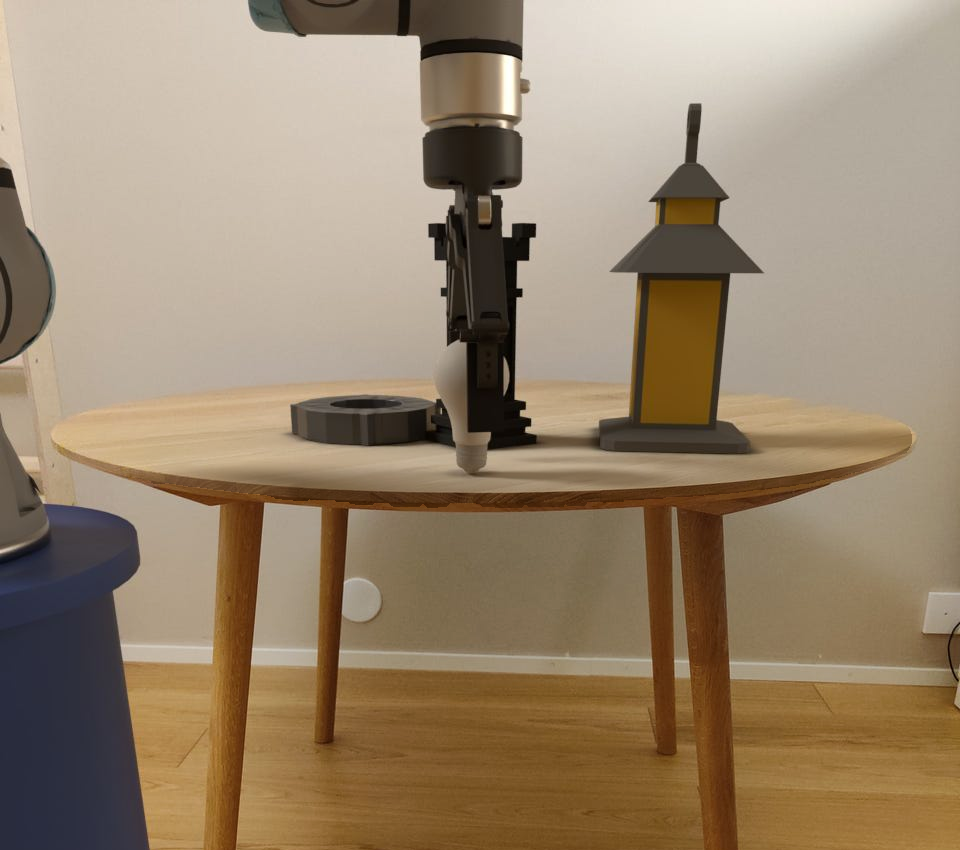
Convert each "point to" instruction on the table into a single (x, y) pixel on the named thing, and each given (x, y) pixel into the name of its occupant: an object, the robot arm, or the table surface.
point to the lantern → (680, 318)
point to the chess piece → (513, 422)
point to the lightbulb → (461, 406)
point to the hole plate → (363, 419)
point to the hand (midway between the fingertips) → (474, 418)
